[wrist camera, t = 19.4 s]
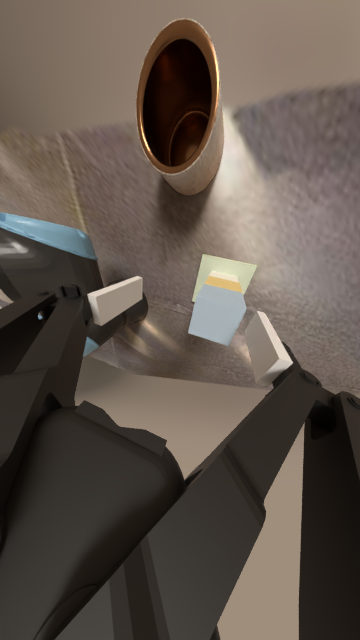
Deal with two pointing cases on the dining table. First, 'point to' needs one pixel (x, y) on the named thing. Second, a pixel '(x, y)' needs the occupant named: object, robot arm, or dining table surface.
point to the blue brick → (217, 314)
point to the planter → (181, 106)
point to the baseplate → (223, 272)
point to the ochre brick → (224, 283)
